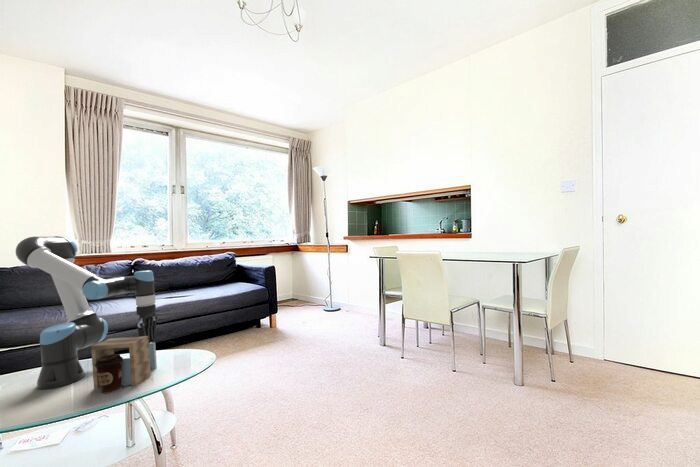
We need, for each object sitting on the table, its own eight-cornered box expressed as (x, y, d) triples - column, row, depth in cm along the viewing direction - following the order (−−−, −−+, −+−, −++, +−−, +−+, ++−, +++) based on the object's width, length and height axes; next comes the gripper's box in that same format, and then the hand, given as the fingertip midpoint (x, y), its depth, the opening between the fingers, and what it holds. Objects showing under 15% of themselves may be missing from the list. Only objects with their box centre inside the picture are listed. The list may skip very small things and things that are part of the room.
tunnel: (112, 380, 142) (109, 338, 142) (150, 377, 142) (148, 335, 142) (94, 390, 132) (91, 346, 132) (135, 387, 132) (132, 343, 132)
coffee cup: (110, 397, 125) (107, 361, 124) (91, 396, 126) (88, 361, 126) (130, 385, 133) (127, 352, 133) (112, 384, 135) (109, 352, 134)
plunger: (133, 369, 151) (131, 344, 151) (157, 367, 151) (156, 342, 151) (103, 387, 133) (101, 358, 133) (131, 384, 133) (129, 356, 133)
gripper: (146, 302, 162) (149, 353, 161) (128, 308, 149) (131, 363, 148) (161, 301, 162) (165, 351, 161) (145, 307, 149) (149, 361, 148)
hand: (149, 357), depth 155 cm, fingers closed
